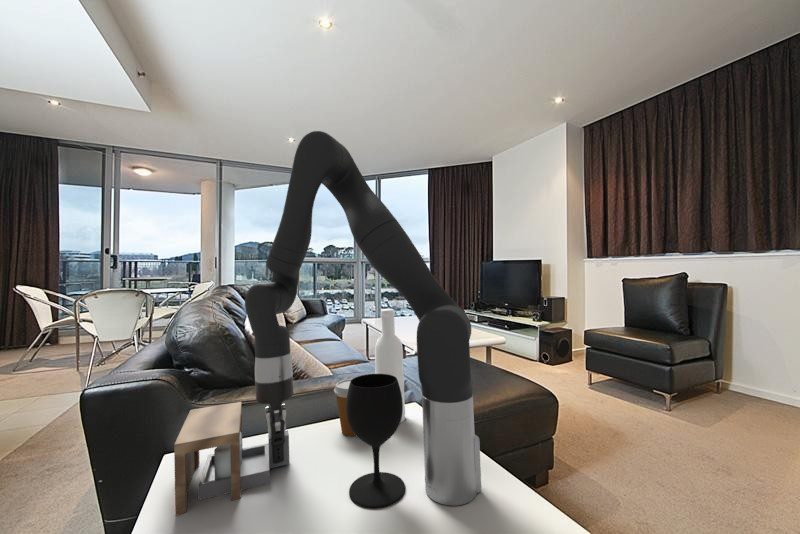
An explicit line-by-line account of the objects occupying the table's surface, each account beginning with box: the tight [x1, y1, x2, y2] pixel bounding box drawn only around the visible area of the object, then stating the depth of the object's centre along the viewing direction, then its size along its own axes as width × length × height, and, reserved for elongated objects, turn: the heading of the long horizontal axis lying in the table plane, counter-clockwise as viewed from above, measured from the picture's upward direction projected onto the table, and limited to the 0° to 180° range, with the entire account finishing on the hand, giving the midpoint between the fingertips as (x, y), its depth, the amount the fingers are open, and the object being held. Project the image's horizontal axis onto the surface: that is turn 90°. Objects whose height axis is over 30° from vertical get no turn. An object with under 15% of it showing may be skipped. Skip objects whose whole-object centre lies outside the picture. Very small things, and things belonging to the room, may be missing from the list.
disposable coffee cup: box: [333, 378, 357, 437], centre depth 89 cm, size 10×10×12 cm
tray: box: [197, 429, 290, 501], centre depth 71 cm, size 16×12×7 cm
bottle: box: [374, 308, 406, 424], centre depth 95 cm, size 8×8×30 cm
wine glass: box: [346, 373, 406, 510], centre depth 64 cm, size 10×10×20 cm
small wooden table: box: [173, 401, 243, 516], centre depth 68 cm, size 10×17×12 cm, turn 23°
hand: (277, 458), depth 73 cm, fingers closed on tray, 2 cm apart
